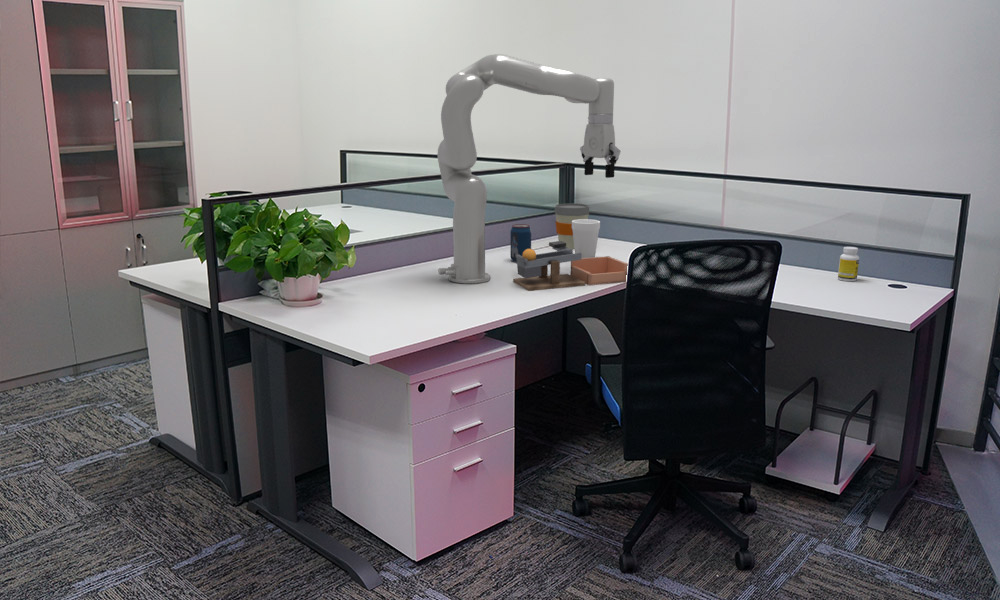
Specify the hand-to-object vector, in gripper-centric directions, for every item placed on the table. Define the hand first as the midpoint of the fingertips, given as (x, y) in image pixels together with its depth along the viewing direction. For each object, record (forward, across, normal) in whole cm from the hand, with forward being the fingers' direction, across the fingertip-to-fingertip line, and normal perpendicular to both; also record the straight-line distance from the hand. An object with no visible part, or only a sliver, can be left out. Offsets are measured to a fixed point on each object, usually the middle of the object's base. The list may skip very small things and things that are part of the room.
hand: (599, 176), depth 258 cm
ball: (+21, +6, -32) cm, 38 cm away
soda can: (+30, -24, -12) cm, 40 cm away
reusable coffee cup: (+30, -34, +18) cm, 49 cm away
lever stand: (+30, +7, -25) cm, 40 cm away
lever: (+26, +3, -24) cm, 35 cm away
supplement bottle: (+30, +56, +51) cm, 81 cm away
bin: (+30, +12, -9) cm, 33 cm away
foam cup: (+30, -13, +7) cm, 33 cm away
